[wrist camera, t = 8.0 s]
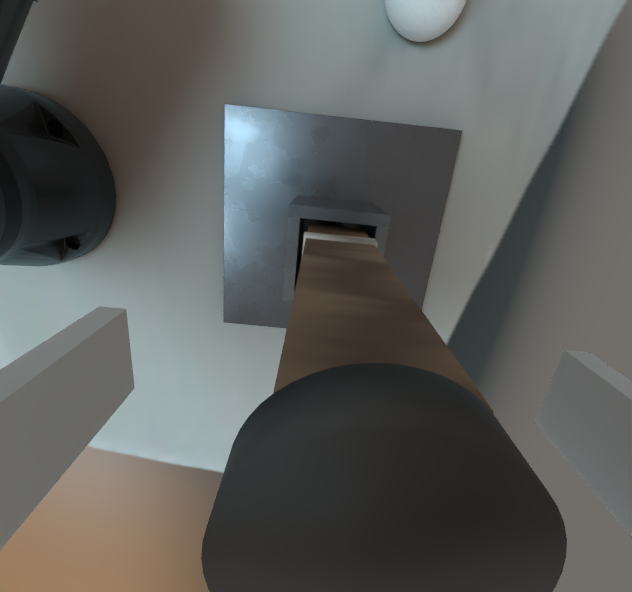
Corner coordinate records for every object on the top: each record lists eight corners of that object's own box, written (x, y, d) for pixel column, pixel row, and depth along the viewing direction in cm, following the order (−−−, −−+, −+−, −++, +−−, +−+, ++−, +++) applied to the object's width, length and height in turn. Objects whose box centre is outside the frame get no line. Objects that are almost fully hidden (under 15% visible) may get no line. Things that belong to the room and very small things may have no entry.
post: (293, 284, 26) (203, 658, 6) (299, 211, 24) (197, 410, 4) (364, 291, 27) (503, 680, 6) (376, 219, 25) (630, 449, 4)
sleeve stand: (226, 317, 36) (194, 369, 27) (228, 106, 29) (185, 77, 20) (411, 335, 37) (442, 392, 27) (456, 132, 30) (519, 115, 20)
